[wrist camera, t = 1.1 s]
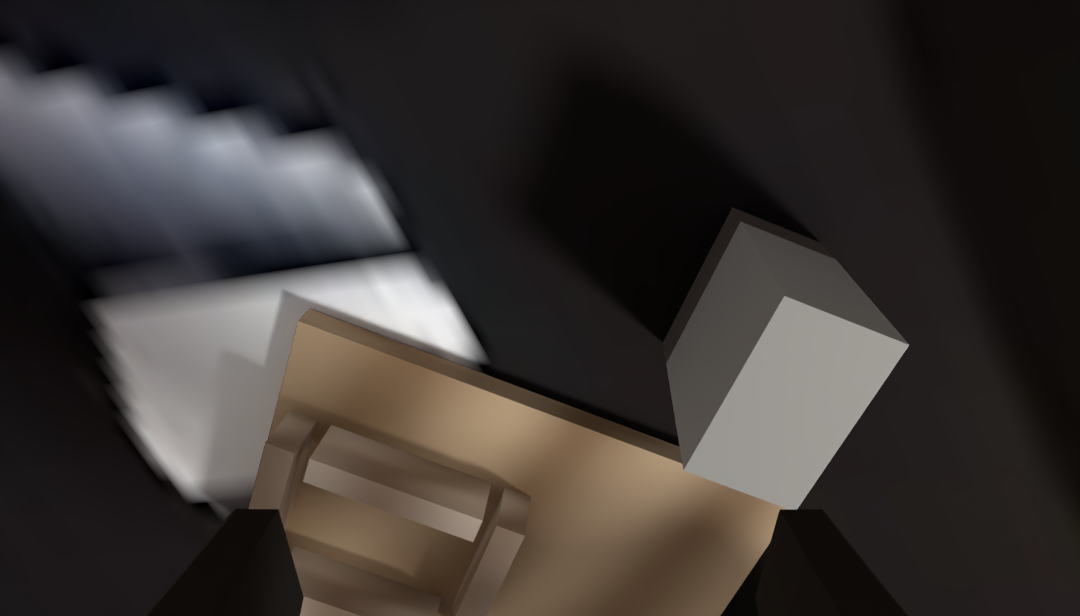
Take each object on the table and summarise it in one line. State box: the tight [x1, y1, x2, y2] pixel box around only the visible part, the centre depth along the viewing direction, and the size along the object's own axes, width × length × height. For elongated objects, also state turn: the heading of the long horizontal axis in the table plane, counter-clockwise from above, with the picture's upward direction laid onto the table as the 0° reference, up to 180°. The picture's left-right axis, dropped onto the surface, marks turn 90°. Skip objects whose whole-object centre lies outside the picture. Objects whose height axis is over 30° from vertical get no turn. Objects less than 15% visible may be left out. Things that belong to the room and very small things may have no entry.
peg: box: [663, 207, 909, 510], centre depth 20 cm, size 3×5×7 cm, turn 159°
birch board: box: [248, 309, 789, 616], centre depth 26 cm, size 18×14×3 cm
